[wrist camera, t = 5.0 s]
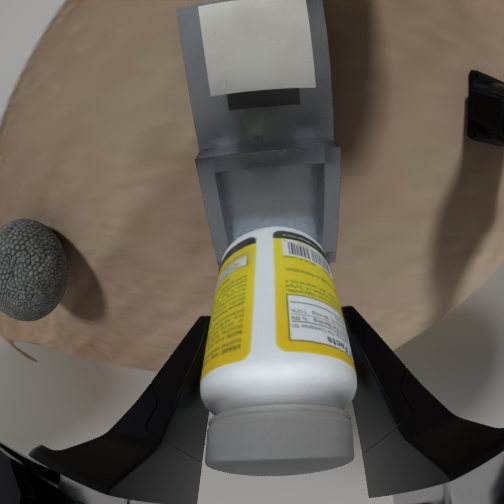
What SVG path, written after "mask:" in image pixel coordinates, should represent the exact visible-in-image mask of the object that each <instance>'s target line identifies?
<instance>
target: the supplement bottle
mask: <svg viewBox="0 0 504 504" xmlns="http://www.w3.org/2000/svg"><path fill="white" fill-rule="evenodd" d="M356 390H357V376H356V370H355V366H354V361H353V356H352V352H351V347H350V343H349V338H348V334H347V330H346V325H345V321H344V317H343V314H342V310H341V306H340V302H339V298H338V295H337V291H336V287H335V284H334V280H333V277H332V273H331V270H330V267H329V263H328V259H327V257H326V254H325V252H324V250H323V249H322V247H321V246H320V245H319V244H318V243H317V241H316V240H314V239H313V238H312V237H310V236H309V235H307V234H306V233H304V232H302V231H299V230H296V229H293V228H288V227H280V226H275V227H265V228H261V229H257V230H254V231H251V232H249V233H247V234H244V235H243V236H241V237H239V238H238V239H237V240H235V241H234V242H233V243H232V244H231V245H230V246H229V247H228V249H227V250H226V252H225V254H224V256H223V258H222V261H221V265H220V269H219V275H218V280H217V286H216V291H215V297H214V302H213V308H212V313H211V319H210V325H209V331H208V337H207V343H206V349H205V355H204V362H203V368H202V374H201V381H200V394H201V398H202V401H203V403H204V405H205V406H206V408H207V409H208V410H209V411H210V412H211V413H212V414H214V415H215V416H214V417H213V418H211V419H210V421H209V428H208V431H207V444H206V445H207V446H206V457H205V463H206V465H207V466H208V467H210V468H212V469H215V470H218V471H222V472H227V473H232V474H240V475H250V476H286V475H299V474H307V473H314V472H320V471H325V470H330V469H334V468H337V467H340V466H343V465H345V464H348V463H350V462H351V461H352V460H353V458H354V449H353V433H352V423H351V421H350V419H351V418H350V416H349V414H348V413H347V412H345V411H344V409H345V408H346V407H347V406H348V405H349V404H350V403H351V402H352V400H353V398H354V396H355V393H356Z"/></svg>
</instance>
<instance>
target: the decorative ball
mask: <svg viewBox="0 0 504 504" xmlns="http://www.w3.org/2000/svg"><path fill="white" fill-rule="evenodd" d="M67 280H68V264H67V258H66V254H65V251H64V248H63V246H62V244H61V242H60V241H59V239H58V237H57V236H56V235H55V234H54V232H53V231H51V230H50V229H49V228H48V227H47V226H45V225H44V224H42V223H40V222H37V221H35V220H30V219H19V220H15V221H12V222H9V223H7V224H6V225H4V226H3V227H1V228H0V310H1V311H2V312H3V313H5V314H6V315H8V316H9V317H11V318H14V319H17V320H21V321H35V320H38V319H41V318H43V317H45V316H46V315H48V314H49V313H50V312H52V311H53V310H54V309H55V307H56V306H57V305H58V304H59V302H60V300H61V299H62V297H63V294H64V292H65V289H66V285H67Z"/></svg>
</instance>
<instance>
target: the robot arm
mask: <svg viewBox="0 0 504 504" xmlns="http://www.w3.org/2000/svg"><path fill="white" fill-rule="evenodd" d="M472 134H473V136H472ZM468 137H469V138H470V139H472V140H475V141H480V142H485V143H490V144H494V145H498V146H503V147H504V82H502V81H500V80H497V79H495V78H493V77H491V76H488V75H486V74H484V73H481V72H479V71H476V70H471V71H470V111H469V126H468ZM341 310H342V314H343V317H344V321H345V325H346V330H347V334H348V338H349V343H350V347H351V352H352V356H353V361H354V366H355V370H356V376H357V390H356V393H355V396H354V398H353V400H352V402H353V407H354V412H355V417H356V422H357V427H358V433H359V438H360V443H361V449H362V454H363V461H364V468H365V474H366V481H367V488H368V495H369V498H372V497H381V496H389V495H393V503H394V504H504V428H494V427H490V426H486V425H483V424H479V423H476V422H472V421H469V420H465V419H463V418H460V417H458V416H456V415H454V414H453V413H451V412H450V411H449V410H448V409H447V408H445V406H443V405H442V404H441V403H440V402H439V401H438V400H437V399H436V398H435V397H434V396H433V395H432V394H431V393H430V392H429V391H428V390H427V389H426V388H425V387H424V386H423V385H422V384H421V383H420V382H419V381H418V380H417V379H416V378H415V377H414V375H413V374H412V373H411V372H410V371H409V370H408V368H406V366H405V365H404V364H403V363H402V361H401V360H400V359H399V358H398V357H397V356H396V355H395V353H394V352H393V351H392V350H391V349H390V348H389V346H388V345H387V344H386V343H385V342H384V341H383V340H382V338H381V337H380V336H379V335H378V334H377V333H376V332H375V331H374V329H373V328H372V327H371V326H370V325H369V324H368V323H367V322H366V321H365V319H364V318H363V317H362V316H361V315H360V314H359V313H358V312H357V311H356V309H355V308H354V307H353V306H344V307H342V308H341ZM210 319H211V316H201V317H199V318H198V320H197V321H196V323H195V324H194V325H193V327H192V328H191V329H190V331H189V332H188V333H187V335H186V336H185V337H184V339H183V340H182V341H181V343H180V344H179V345H178V347H177V348H176V349H175V351H174V352H173V354H172V355H171V356H170V358H169V359H168V360H167V362H166V363H165V364H164V366H163V367H162V368H161V370H160V371H159V372H158V374H157V375H156V377H155V378H154V379H153V381H152V384H150V385H149V386H148V387H147V389H146V390H145V391H144V393H143V394H142V395H141V396H140V398H139V399H138V400H137V401H136V402H135V404H134V405H133V406H132V407H131V408H130V409H129V410H128V411H127V412H126V413H125V415H124V416H123V417H122V418H121V419H120V420H119V421H118V422H117V423H116V424H115V425H114V426H113V427H112V428H111V429H110V430H109V431H108V432H107V433H105V434H104V435H102V436H100V437H98V438H95V439H93V440H90V441H87V442H85V443H82V444H79V445H76V446H73V447H70V448H68V449H64V450H58V451H56V450H51V449H49V448H47V447H45V446H43V445H39V446H37V447H35V448H34V449H32V450H31V451H30V452H29V454H28V455H29V456H30V457H32V458H33V459H34V460H33V459H31V458H29V457H27V456H25V455H23V454H21V453H19V452H17V451H16V450H14V449H12V448H10V447H8V446H7V445H5V444H3V443H2V442H0V504H197V500H198V492H199V483H200V476H201V468H202V460H203V452H204V445H205V437H206V430H207V423H208V416H209V410H208V409H207V408H206V406H205V405H204V403H203V401H202V398H201V394H200V381H201V374H202V368H203V362H204V355H205V349H206V343H207V337H208V331H209V325H210ZM35 460H36V461H35ZM37 461H38V462H37Z"/></svg>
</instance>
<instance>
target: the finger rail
mask: <svg viewBox="0 0 504 504" xmlns="http://www.w3.org/2000/svg"><path fill="white" fill-rule="evenodd" d="M177 14H178V22H179V29H180V37H181V44H182V50H183V57H184V64H185V70H186V77H187V83H188V89H189V95H190V101H191V107H192V113H193V119H194V124H195V130H196V135H197V141H198V146H199V152H200V153H199V154H198V156H197V157H196V159H195V162H196V167H197V172H198V177H199V182H200V186H201V191H202V196H203V201H204V205H205V210H206V214H207V219H208V223H209V228H210V232H211V237H212V241H213V245H214V250H215V254H216V258H217V262H218V267H219V269H220V265H221V261H222V258H223V256H224V254H225V252H226V250H227V249H228V247H229V246H230V245H231V244H232V243H233V242H234V241H235V240H237V239H238V238H239V237H241V236H243V235H244V234H247V233H249V232H251V231H254V230H257V229H261V228H265V227H275V226H280V227H288V228H293V229H296V230H299V231H302V232H304V233H306V234H307V235H309V236H310V237H312V238H313V239H314V240H316V241H317V243H318V244H319V245H320V246H321V247H322V249H323V250H324V252H325V254H326V257H327V259H328V263H329V266H330V263H331V262H335V259H336V248H337V235H338V221H339V203H340V174H341V147H340V146H339V145H338V144H337V143H336V142H335V141H334V121H333V98H332V81H331V68H330V57H329V47H328V38H327V29H326V22H325V14H324V8H323V1H322V0H219V1H213V2H207V3H202V4H197V5H192V6H188V7H184V8H180V9H177Z"/></svg>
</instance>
